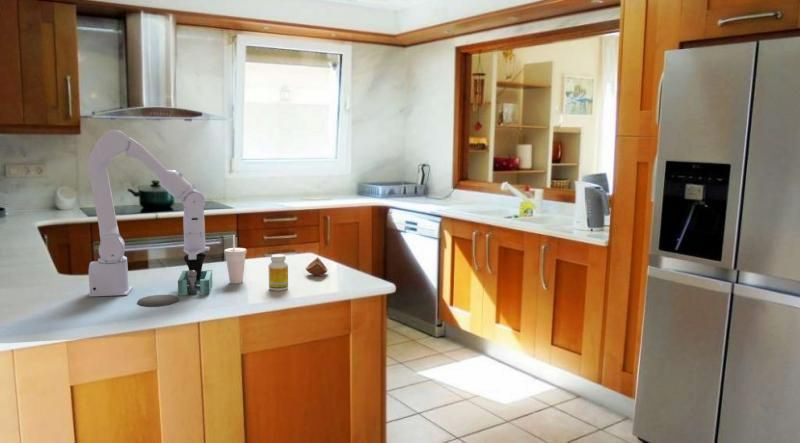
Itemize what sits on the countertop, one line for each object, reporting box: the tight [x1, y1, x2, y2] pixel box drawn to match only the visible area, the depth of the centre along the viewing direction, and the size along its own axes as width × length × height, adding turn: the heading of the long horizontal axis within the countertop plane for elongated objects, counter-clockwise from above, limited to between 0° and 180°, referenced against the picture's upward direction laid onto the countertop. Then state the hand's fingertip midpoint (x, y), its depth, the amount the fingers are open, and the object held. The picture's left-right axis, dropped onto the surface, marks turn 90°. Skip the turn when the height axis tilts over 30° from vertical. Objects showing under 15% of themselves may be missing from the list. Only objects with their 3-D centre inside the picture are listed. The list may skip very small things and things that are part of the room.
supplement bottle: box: [268, 253, 289, 292], centre depth 178 cm, size 5×5×10 cm
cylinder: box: [188, 270, 198, 296], centre depth 172 cm, size 2×2×7 cm
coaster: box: [137, 294, 180, 307], centre depth 165 cm, size 10×10×1 cm
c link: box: [177, 269, 213, 297], centre depth 176 cm, size 8×11×4 cm
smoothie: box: [223, 234, 247, 284], centre depth 185 cm, size 6×6×14 cm
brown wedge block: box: [305, 257, 328, 276], centre depth 196 cm, size 8×7×5 cm
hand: (196, 279), depth 181 cm, fingers closed on c link
